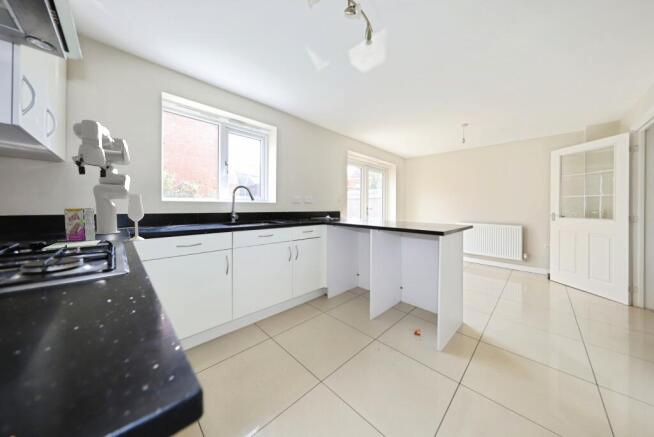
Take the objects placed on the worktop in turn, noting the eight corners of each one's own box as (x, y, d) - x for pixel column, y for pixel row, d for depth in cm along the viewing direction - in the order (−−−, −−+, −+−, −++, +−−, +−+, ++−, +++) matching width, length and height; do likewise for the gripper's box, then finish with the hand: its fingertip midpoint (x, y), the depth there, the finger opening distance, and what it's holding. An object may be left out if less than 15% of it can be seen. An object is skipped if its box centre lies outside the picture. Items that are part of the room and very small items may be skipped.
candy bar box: (65, 241, 115) (63, 208, 114) (76, 240, 120) (75, 208, 119) (85, 241, 114) (83, 207, 113) (96, 240, 119) (94, 208, 118)
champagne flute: (126, 240, 120) (124, 194, 118) (131, 239, 126) (129, 194, 125) (142, 240, 122) (140, 194, 121) (146, 238, 128) (145, 195, 127)
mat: (56, 243, 109) (56, 242, 109) (100, 240, 119) (100, 240, 119) (42, 249, 95) (42, 248, 95) (94, 245, 104) (94, 244, 104)
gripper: (104, 148, 135) (105, 178, 136) (65, 139, 118) (67, 173, 119) (114, 148, 134) (115, 177, 134) (77, 138, 117) (78, 172, 117)
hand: (93, 175), depth 126 cm, fingers open, 9 cm apart
